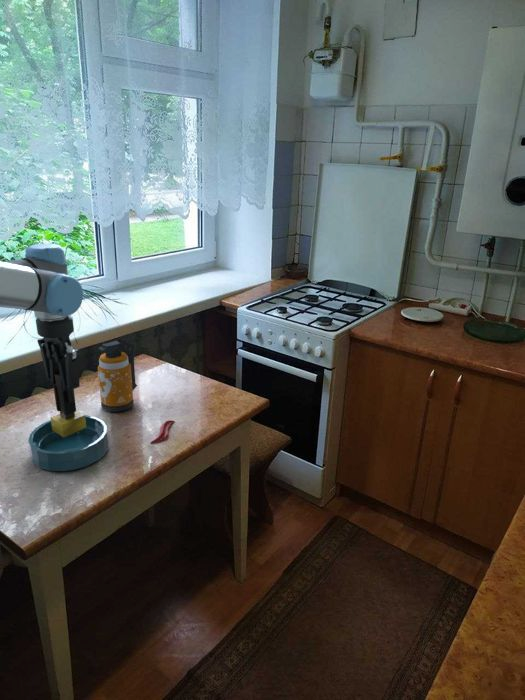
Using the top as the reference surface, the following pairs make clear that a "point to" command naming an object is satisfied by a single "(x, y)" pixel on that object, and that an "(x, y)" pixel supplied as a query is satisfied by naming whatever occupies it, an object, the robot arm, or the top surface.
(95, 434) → the basin
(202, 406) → the top surface
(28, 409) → the top surface
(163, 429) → the cayenne pepper
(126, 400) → the canister
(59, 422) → the scrub brush
